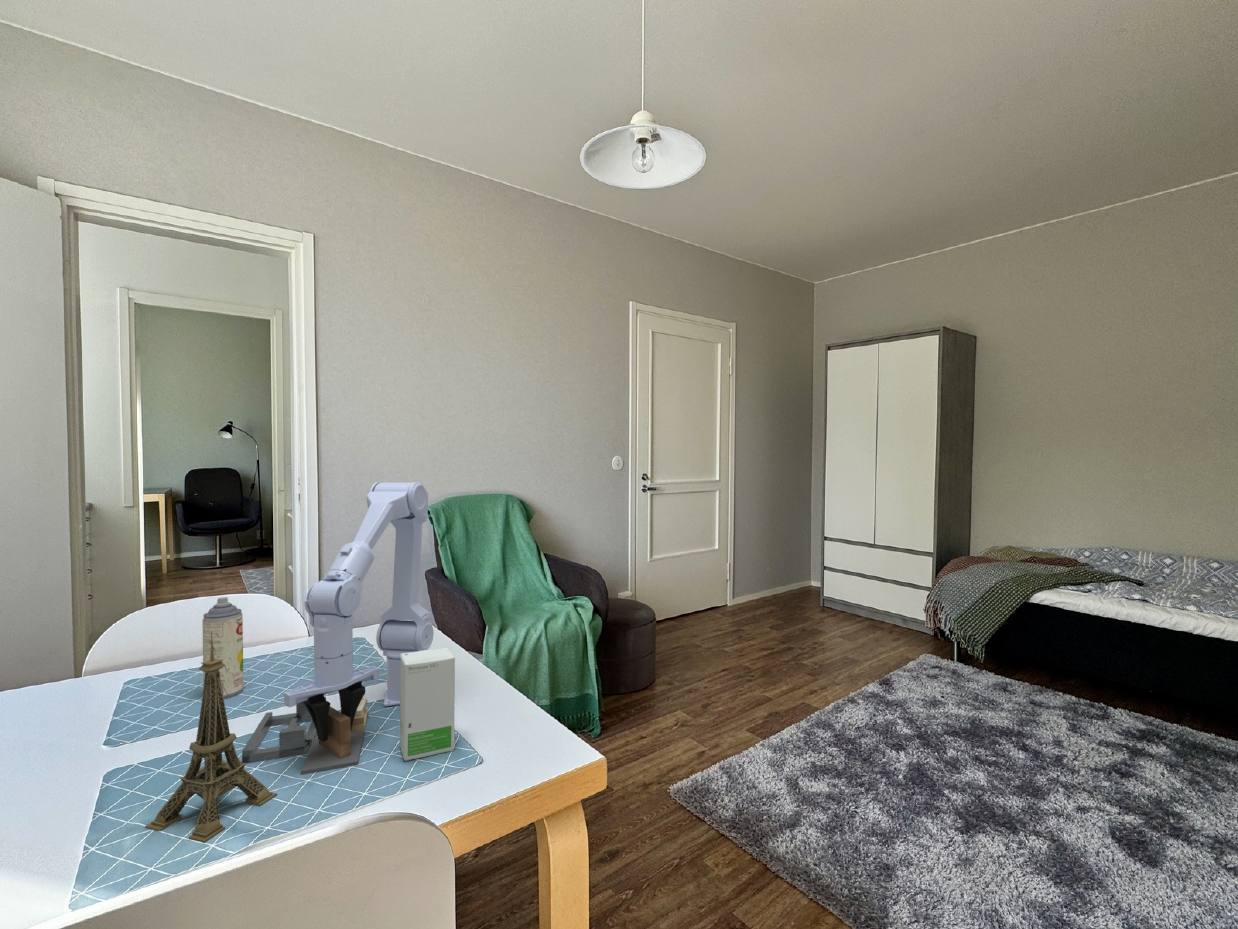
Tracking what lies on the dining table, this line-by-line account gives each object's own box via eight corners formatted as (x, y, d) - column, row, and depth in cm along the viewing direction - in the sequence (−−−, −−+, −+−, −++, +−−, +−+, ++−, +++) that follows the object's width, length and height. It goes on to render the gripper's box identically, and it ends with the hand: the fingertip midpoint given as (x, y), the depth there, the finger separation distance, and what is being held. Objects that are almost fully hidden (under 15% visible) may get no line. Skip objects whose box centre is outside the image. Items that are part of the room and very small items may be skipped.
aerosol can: (245, 694, 117) (244, 598, 117) (204, 703, 112) (203, 603, 112) (241, 684, 122) (240, 592, 122) (202, 692, 118) (201, 597, 117)
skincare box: (403, 763, 90) (402, 665, 89) (398, 744, 95) (397, 653, 95) (456, 750, 93) (456, 656, 93) (449, 733, 99) (448, 645, 99)
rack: (322, 715, 106) (322, 694, 106) (307, 753, 93) (307, 729, 93) (266, 723, 103) (266, 702, 103) (242, 763, 90) (241, 738, 90)
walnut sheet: (328, 740, 96) (328, 705, 96) (350, 755, 91) (350, 718, 91) (318, 743, 95) (318, 708, 95) (340, 759, 90) (340, 721, 90)
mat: (364, 733, 99) (364, 730, 99) (357, 764, 89) (357, 761, 89) (313, 741, 97) (313, 738, 97) (300, 774, 86) (300, 771, 86)
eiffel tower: (222, 784, 84) (220, 618, 84) (277, 795, 81) (274, 623, 81) (145, 828, 74) (142, 639, 74) (204, 843, 71) (201, 646, 71)
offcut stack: (368, 714, 107) (367, 696, 107) (364, 731, 100) (364, 712, 100) (341, 717, 106) (341, 699, 105) (336, 735, 99) (336, 716, 99)
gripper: (364, 637, 101) (365, 712, 101) (275, 660, 90) (276, 744, 90) (385, 645, 97) (385, 723, 97) (294, 670, 85) (295, 759, 85)
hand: (334, 734), depth 93 cm, fingers open, 3 cm apart
